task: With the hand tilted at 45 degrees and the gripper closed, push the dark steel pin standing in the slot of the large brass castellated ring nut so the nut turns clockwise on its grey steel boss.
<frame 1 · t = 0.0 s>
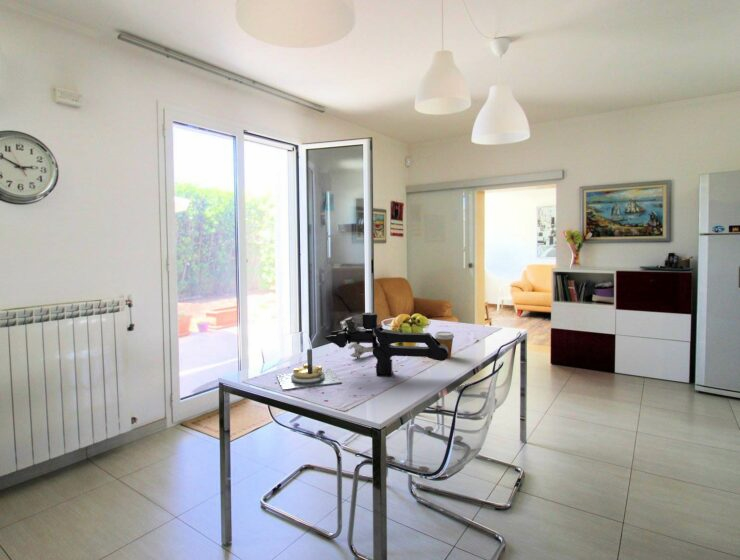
hand: (328, 335, 191), 17 cm above the table, tool horizontal, fingers open, 9 cm apart
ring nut: (307, 360, 181), point 8 cm above the table, hinge at 0.0°
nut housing: (308, 379, 182), on the table
wrench: (371, 355, 222), on the table
disposable coffee cup: (444, 357, 215), on the table
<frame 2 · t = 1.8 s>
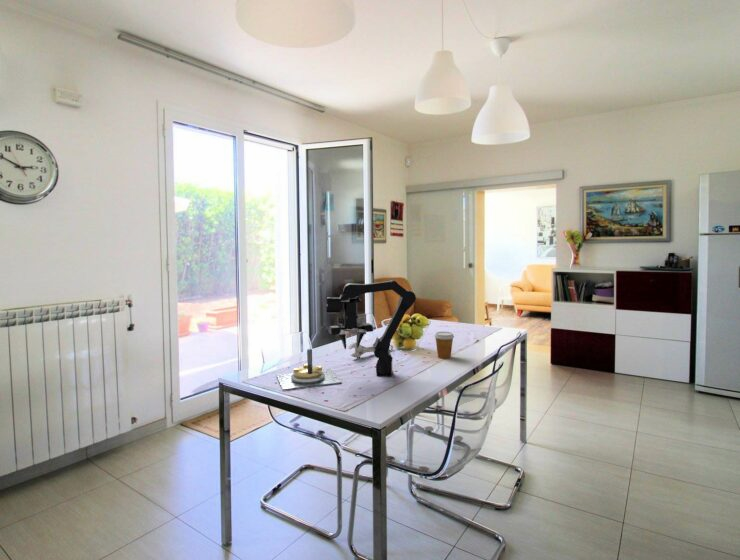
hand: (351, 348, 186), 12 cm above the table, tool pointing down, fingers open, 5 cm apart
nothing on the table moved.
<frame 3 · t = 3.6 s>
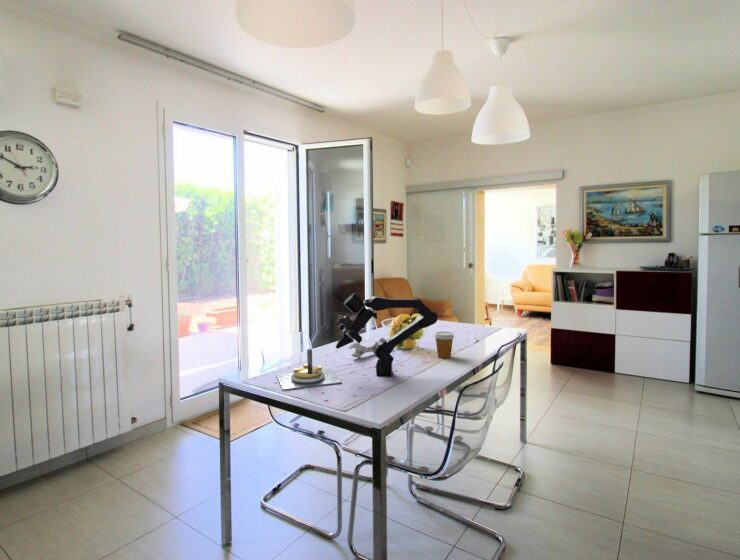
hand: (336, 348, 181), 13 cm above the table, tool tilted 45°, fingers closed
nothing on the table moved.
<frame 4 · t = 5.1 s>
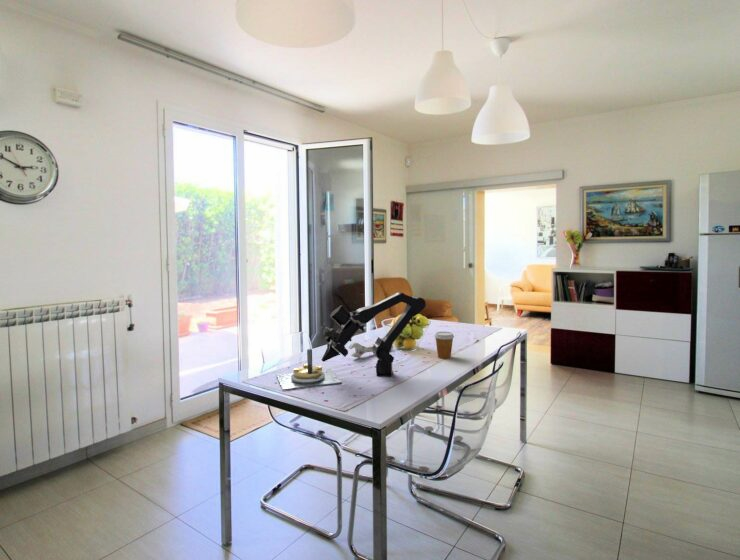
hand: (322, 360, 179), 9 cm above the table, tool tilted 45°, fingers closed
nothing on the table moved.
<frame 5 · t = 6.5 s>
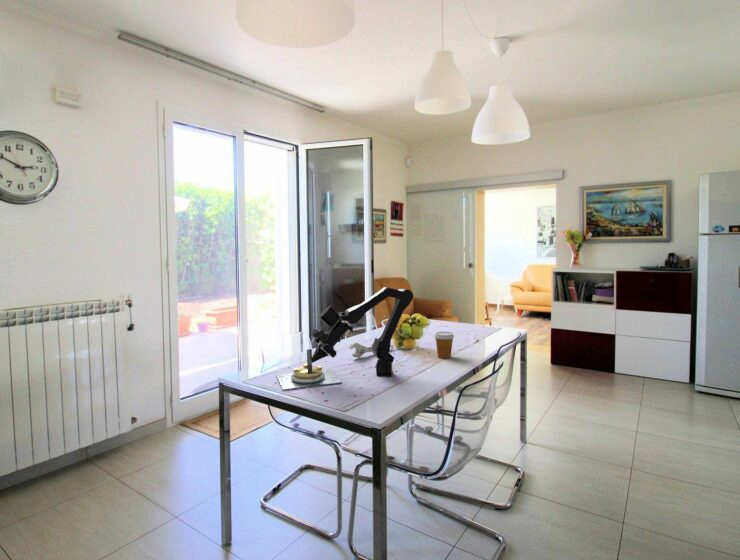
hand: (311, 361, 178), 9 cm above the table, tool tilted 45°, fingers closed
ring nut: (307, 360, 181), point 8 cm above the table, hinge at -1.4°, touching gripper
everything else where it was.
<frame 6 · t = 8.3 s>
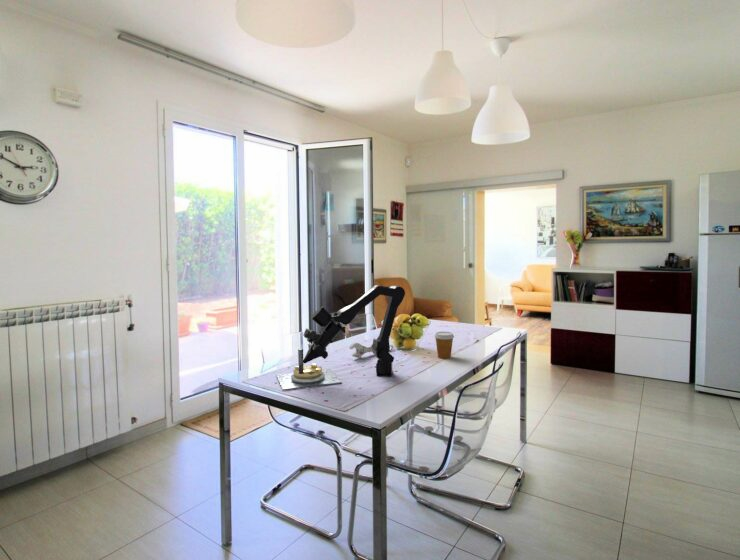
hand: (303, 362, 178), 8 cm above the table, tool tilted 45°, fingers closed
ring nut: (307, 360, 181), point 8 cm above the table, hinge at -43.5°, touching gripper
everything else where it was.
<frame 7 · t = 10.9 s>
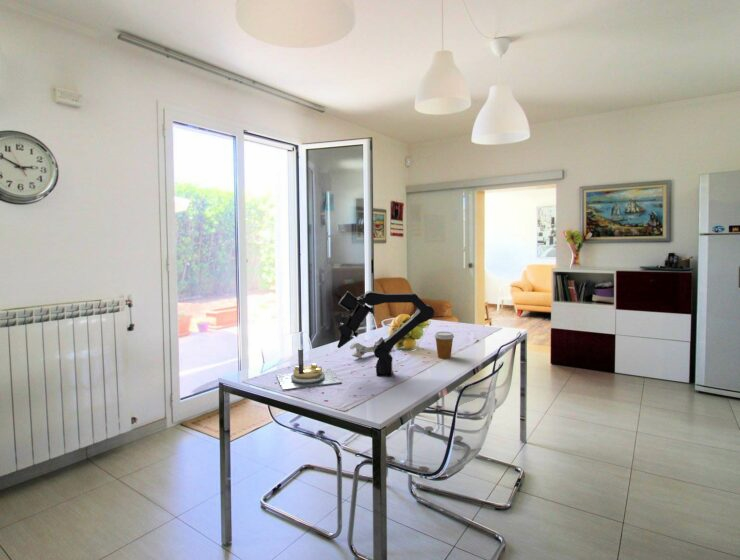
hand: (338, 347, 184), 13 cm above the table, tool tilted 35°, fingers closed
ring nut: (307, 360, 181), point 8 cm above the table, hinge at -43.5°
everything else where it was.
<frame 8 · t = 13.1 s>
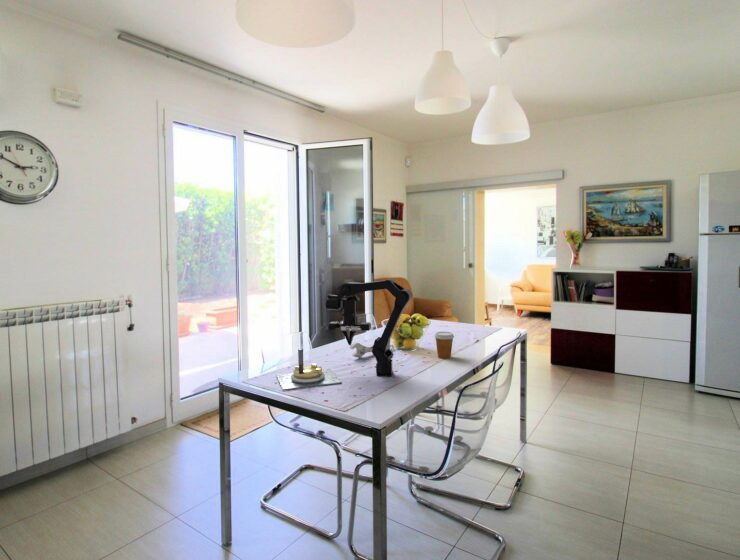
hand: (349, 345, 192), 12 cm above the table, tool pointing down, fingers closed
nothing on the table moved.
at the end: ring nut at -44° (first picture: +0°) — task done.
